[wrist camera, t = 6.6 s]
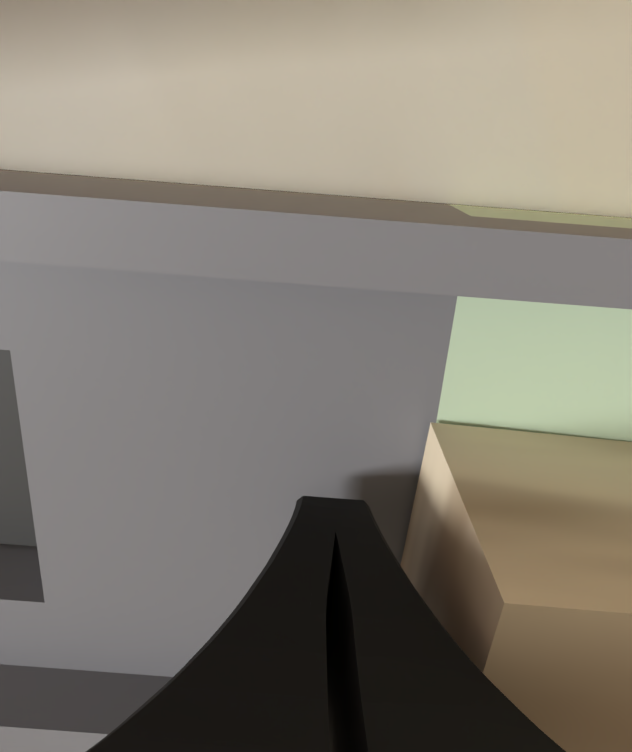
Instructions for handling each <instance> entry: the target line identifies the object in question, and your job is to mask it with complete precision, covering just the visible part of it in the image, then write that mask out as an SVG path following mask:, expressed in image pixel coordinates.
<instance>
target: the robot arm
mask: <svg viewBox="0 0 632 752" xmlns="http://www.w3.org/2000/svg"><path fill="white" fill-rule="evenodd" d="M86 752H566V751H565V750H564V749H562V748H561V747H560V746H559V745H558V744H557V743H555V742H554V741H553V740H552V739H551V738H550V737H548V736H547V735H546V734H545V733H544V732H543V731H542V730H541V729H539V728H538V727H537V726H536V725H535V724H534V723H533V722H532V721H531V720H530V719H529V718H528V717H527V716H526V715H524V714H523V713H522V712H521V711H520V710H519V709H518V708H517V707H516V706H515V705H514V704H513V703H512V702H511V701H510V700H509V699H508V698H507V697H506V696H505V695H504V694H503V693H502V692H501V691H500V690H499V689H498V688H497V687H496V686H495V685H494V684H493V683H492V682H491V681H490V680H489V679H488V678H487V677H486V676H485V675H484V674H483V673H482V672H481V670H480V669H479V668H478V667H477V666H476V665H475V664H474V663H473V662H472V661H471V660H470V658H469V657H468V656H467V655H466V654H465V653H464V651H463V650H462V649H461V648H460V647H459V646H458V644H457V643H456V642H455V641H454V640H453V638H452V637H451V636H450V635H449V633H448V632H447V631H446V630H445V628H444V627H443V626H442V625H441V623H440V622H439V621H438V619H437V618H436V617H435V615H434V614H433V613H432V611H431V610H430V609H429V607H428V606H427V604H426V603H425V602H424V600H423V599H422V597H421V596H420V595H419V593H418V592H417V590H416V589H415V587H414V586H413V584H412V583H411V581H410V580H409V578H408V577H407V575H406V573H405V572H404V570H403V569H402V567H401V565H400V564H399V562H398V561H397V559H396V557H395V556H394V554H393V552H392V551H391V549H390V547H389V545H388V544H387V542H386V540H385V538H384V536H383V535H382V533H381V531H380V529H379V527H378V525H377V523H376V521H375V519H374V517H373V514H372V512H371V510H370V508H369V506H368V504H367V503H366V502H365V501H364V500H353V499H340V498H327V497H314V496H302V497H301V498H299V499H298V500H297V501H296V506H295V509H294V512H293V515H292V517H291V520H290V522H289V524H288V526H287V528H286V530H285V532H284V534H283V536H282V538H281V540H280V542H279V543H278V545H277V547H276V548H275V550H274V552H273V554H272V555H271V557H270V559H269V560H268V562H267V564H266V565H265V567H264V569H263V570H262V572H261V573H260V574H259V576H258V577H257V579H256V580H255V582H254V583H253V584H252V586H251V587H250V589H249V590H248V592H247V593H246V595H245V596H244V597H243V599H242V600H241V601H240V603H239V604H238V605H237V607H236V608H235V609H234V610H233V612H232V613H231V614H230V615H229V617H228V618H227V619H226V620H225V622H224V623H223V624H222V625H221V626H220V627H219V629H218V630H217V631H216V632H215V633H214V635H213V636H212V637H211V638H210V639H209V640H208V641H207V642H206V643H205V644H204V646H203V647H202V648H201V649H200V650H199V651H198V652H197V653H196V654H195V655H194V656H193V657H192V658H191V659H190V660H189V661H188V662H187V664H186V665H185V666H184V667H183V668H182V669H181V670H180V671H179V672H178V673H177V674H176V675H175V676H174V677H173V678H172V679H171V680H169V681H168V682H167V683H166V684H165V685H164V686H163V687H162V688H161V689H160V690H159V691H157V692H156V693H155V694H154V695H153V696H152V697H151V698H150V699H148V700H147V701H146V702H145V703H144V704H143V705H142V706H141V707H139V708H138V709H137V710H136V711H135V712H134V713H133V714H132V715H130V716H129V717H128V718H127V719H126V720H125V721H124V722H122V723H121V724H120V725H119V726H118V727H117V728H115V729H114V730H113V731H112V732H110V733H109V734H108V735H107V736H106V737H104V738H103V739H102V740H100V741H99V742H98V743H96V744H95V745H94V746H92V747H91V748H90V749H89V750H87V751H86Z"/></svg>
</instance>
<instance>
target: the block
mask: <svg viewBox="0 0 632 752" xmlns="http://www.w3.org/2000/svg"><path fill="white" fill-rule="evenodd" d="M401 567H402V569H403V570H404V572H405V573H406V575H407V577H408V578H409V580H410V581H411V583H412V584H413V586H414V587H415V589H416V590H417V592H418V593H419V595H420V596H421V597H422V599H423V600H424V602H425V603H426V604H427V606H428V607H429V609H430V610H431V611H432V613H433V614H434V615H435V617H436V618H437V619H438V621H439V622H440V623H441V625H442V626H443V627H444V628H445V630H446V631H447V632H448V633H449V635H450V636H451V637H452V638H453V640H454V641H455V642H456V643H457V644H458V646H459V647H460V648H461V649H462V650H463V651H464V653H465V654H466V655H467V656H468V657H469V658H470V660H471V661H472V662H473V663H474V664H475V665H476V666H477V667H478V668H479V669H480V670H481V672H482V673H483V674H484V675H485V676H486V677H487V678H488V679H489V680H490V681H491V682H492V683H493V684H494V685H495V686H496V687H497V688H498V689H499V690H500V691H501V692H502V693H503V694H504V695H505V696H506V697H507V698H508V699H509V700H510V701H511V702H512V703H513V704H514V705H515V706H516V707H517V708H518V709H519V710H520V711H521V712H522V713H523V714H524V715H526V716H527V717H528V718H529V719H530V720H531V721H532V722H533V723H534V724H535V725H536V726H537V727H538V728H539V729H541V730H542V731H543V732H544V733H545V734H546V735H547V736H548V737H550V738H551V739H552V740H553V741H554V742H555V743H557V744H558V745H559V746H560V747H561V748H562V749H564V750H565V751H566V752H632V442H626V441H616V440H606V439H596V438H585V437H575V436H565V435H555V434H544V433H534V432H524V431H514V430H503V429H493V428H483V427H472V426H462V425H452V424H442V423H431V422H430V427H429V432H428V437H427V441H426V446H425V451H424V456H423V460H422V465H421V470H420V475H419V480H418V484H417V489H416V494H415V499H414V503H413V508H412V513H411V518H410V522H409V527H408V532H407V537H406V541H405V546H404V551H403V556H402V561H401Z"/></svg>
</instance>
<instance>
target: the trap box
mask: <svg viewBox="0 0 632 752" xmlns="http://www.w3.org/2000/svg"><path fill="white" fill-rule="evenodd" d="M430 422H431V423H442V424H452V425H462V426H472V427H483V428H493V429H503V430H514V431H524V432H534V433H544V434H555V435H565V436H575V437H585V438H596V439H606V440H616V441H626V442H632V218H623V217H610V216H597V215H584V214H571V213H558V212H545V211H532V210H519V209H506V208H493V207H480V206H467V205H454V204H441V203H428V202H415V201H402V200H389V199H376V198H363V197H350V196H337V195H324V194H311V193H298V192H285V191H272V190H259V189H246V188H233V187H220V186H207V185H194V184H181V183H168V182H155V181H142V180H129V179H116V178H103V177H90V176H77V175H64V174H51V173H38V172H25V171H12V170H0V752H86V751H87V750H89V749H90V748H91V747H92V746H94V745H95V744H96V743H98V742H99V741H100V740H102V739H103V738H104V737H106V736H107V735H108V734H109V733H110V732H112V731H113V730H114V729H115V728H117V727H118V726H119V725H120V724H121V723H122V722H124V721H125V720H126V719H127V718H128V717H129V716H130V715H132V714H133V713H134V712H135V711H136V710H137V709H138V708H139V707H141V706H142V705H143V704H144V703H145V702H146V701H147V700H148V699H150V698H151V697H152V696H153V695H154V694H155V693H156V692H157V691H159V690H160V689H161V688H162V687H163V686H164V685H165V684H166V683H167V682H168V681H169V680H171V679H172V678H173V677H174V676H175V675H176V674H177V673H178V672H179V671H180V670H181V669H182V668H183V667H184V666H185V665H186V664H187V662H188V661H189V660H190V659H191V658H192V657H193V656H194V655H195V654H196V653H197V652H198V651H199V650H200V649H201V648H202V647H203V646H204V644H205V643H206V642H207V641H208V640H209V639H210V638H211V637H212V636H213V635H214V633H215V632H216V631H217V630H218V629H219V627H220V626H221V625H222V624H223V623H224V622H225V620H226V619H227V618H228V617H229V615H230V614H231V613H232V612H233V610H234V609H235V608H236V607H237V605H238V604H239V603H240V601H241V600H242V599H243V597H244V596H245V595H246V593H247V592H248V590H249V589H250V587H251V586H252V584H253V583H254V582H255V580H256V579H257V577H258V576H259V574H260V573H261V572H262V570H263V569H264V567H265V565H266V564H267V562H268V560H269V559H270V557H271V555H272V554H273V552H274V550H275V548H276V547H277V545H278V543H279V542H280V540H281V538H282V536H283V534H284V532H285V530H286V528H287V526H288V524H289V522H290V520H291V517H292V515H293V512H294V509H295V506H296V501H297V500H298V499H299V498H301V497H302V496H314V497H327V498H340V499H353V500H364V501H365V502H366V503H367V504H368V506H369V508H370V510H371V512H372V514H373V517H374V519H375V521H376V523H377V525H378V527H379V529H380V531H381V533H382V535H383V536H384V538H385V540H386V542H387V544H388V545H389V547H390V549H391V551H392V552H393V554H394V556H395V557H396V559H397V561H398V562H399V564H400V565H401V561H402V556H403V551H404V546H405V541H406V537H407V532H408V527H409V522H410V518H411V513H412V508H413V503H414V499H415V494H416V489H417V484H418V480H419V475H420V470H421V465H422V460H423V456H424V451H425V446H426V441H427V437H428V432H429V427H430Z"/></svg>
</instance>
